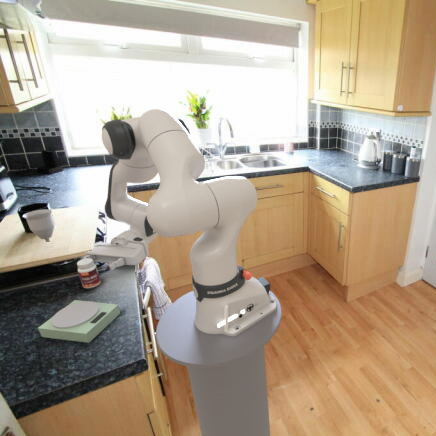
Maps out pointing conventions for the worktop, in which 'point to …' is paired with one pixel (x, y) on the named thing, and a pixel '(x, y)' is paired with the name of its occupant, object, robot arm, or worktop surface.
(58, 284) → the worktop surface
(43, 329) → the scale
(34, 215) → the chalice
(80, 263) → the pill bottle
